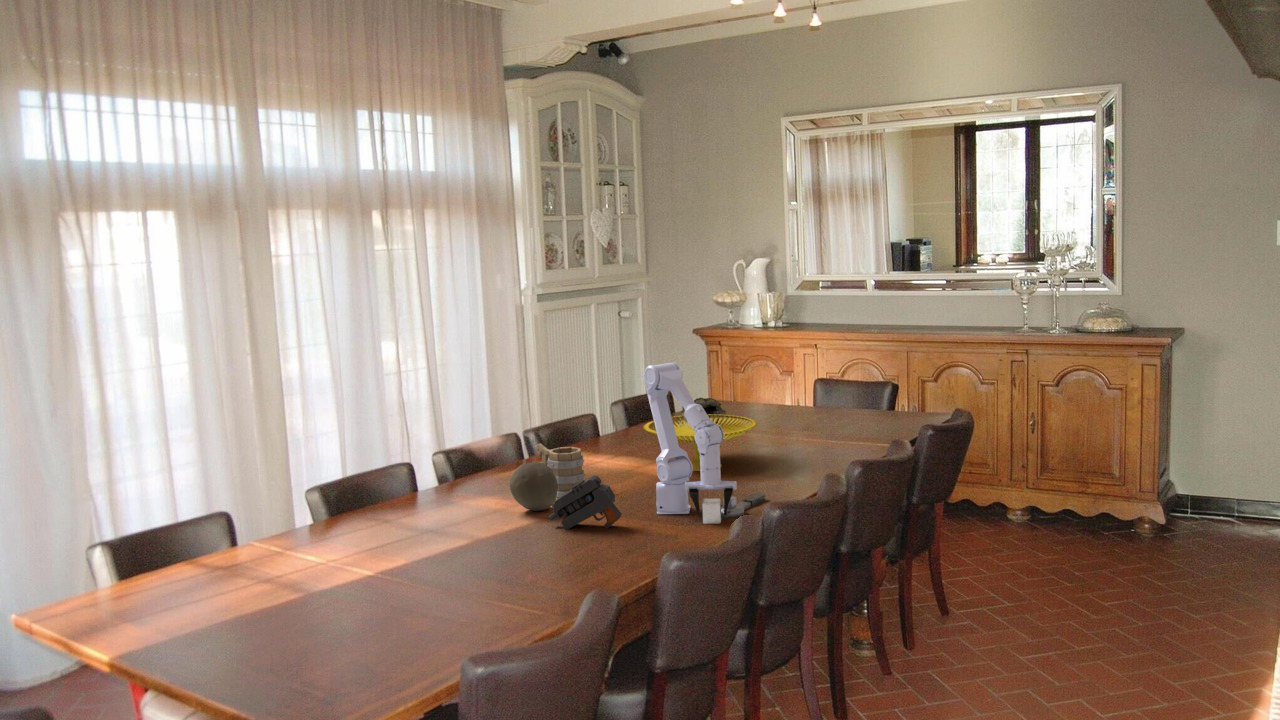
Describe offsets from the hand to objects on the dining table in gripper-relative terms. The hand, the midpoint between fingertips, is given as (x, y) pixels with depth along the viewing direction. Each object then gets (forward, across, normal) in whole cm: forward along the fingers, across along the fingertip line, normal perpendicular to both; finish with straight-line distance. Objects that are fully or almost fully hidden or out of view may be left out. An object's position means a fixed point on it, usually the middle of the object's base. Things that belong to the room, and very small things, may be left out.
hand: (711, 514), depth 294 cm
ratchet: (+2, +8, +13) cm, 16 cm away
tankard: (+2, -51, +37) cm, 63 cm away
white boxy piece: (+2, 0, 0) cm, 2 cm away
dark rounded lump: (+2, -8, +131) cm, 131 cm away
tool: (+2, -36, -4) cm, 36 cm away
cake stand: (+2, -6, +68) cm, 68 cm away
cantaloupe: (+2, -54, +13) cm, 56 cm away
